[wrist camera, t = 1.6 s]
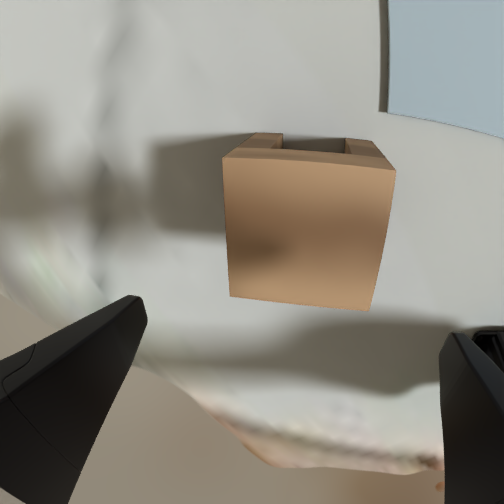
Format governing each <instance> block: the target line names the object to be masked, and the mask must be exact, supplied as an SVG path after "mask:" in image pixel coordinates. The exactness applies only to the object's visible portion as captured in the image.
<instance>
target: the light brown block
mask: <svg viewBox="0 0 504 504" xmlns="http://www.w3.org/2000/svg"><path fill="white" fill-rule="evenodd" d="M222 166H223V187H224V207H225V226H226V243H227V260H228V276H229V291H230V296H231V297H239V298H247V299H255V300H263V301H272V302H280V303H289V304H298V305H308V306H318V307H328V308H338V309H349V310H361V311H369V308H370V305H371V301H372V297H373V293H374V289H375V285H376V280H377V276H378V272H379V267H380V263H381V258H382V253H383V248H384V243H385V238H386V233H387V227H388V222H389V216H390V210H391V204H392V198H393V191H394V184H395V177H396V170H395V168H394V167H393V166H392V165H391V163H390V162H389V161H388V160H387V159H386V157H385V156H384V155H383V154H382V153H381V151H380V150H379V149H378V148H377V147H376V145H375V144H374V143H373V142H372V141H368V140H359V139H350V138H345V153H344V154H342V153H331V152H319V151H305V150H289V149H283V134H281V133H255V134H254V135H253V136H251V137H250V138H248V139H247V140H246V141H244V142H243V143H241V144H240V145H239V146H237V147H236V148H235V149H233V150H232V151H231V152H229V153H228V154H226V155H225V156H224V157H222Z"/></svg>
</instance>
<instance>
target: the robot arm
mask: <svg viewBox="0 0 504 504" xmlns="http://www.w3.org/2000/svg"><path fill="white" fill-rule="evenodd" d="M146 326H147V314H146V310H145V307H144V303H143V300H142V298H141V297H139V296H134V295H127V296H125V297H123V298H121V299H119V300H117V301H115V302H114V303H112V304H110V305H108V306H106V307H104V308H102V309H100V310H98V311H96V312H94V313H92V314H90V315H88V316H86V317H84V318H82V319H80V320H79V321H77V322H75V323H73V324H71V325H69V326H67V327H65V328H63V329H61V330H59V331H57V332H56V333H54V334H52V335H50V336H48V337H46V338H44V339H43V340H40V341H38V342H37V343H36V344H33V345H31V346H29V347H27V348H25V349H23V350H21V351H19V352H17V353H15V354H13V355H11V356H9V357H7V358H4V359H3V360H0V504H68V502H69V500H70V497H71V495H72V492H73V490H74V488H75V485H76V483H77V481H78V478H79V476H80V474H81V471H82V469H83V466H84V464H85V462H86V460H87V457H88V455H89V453H90V451H91V448H92V446H93V444H94V442H95V439H96V437H97V435H98V433H99V431H100V428H101V427H102V424H103V422H104V420H105V418H106V416H107V414H108V412H109V409H110V408H111V405H112V403H113V401H114V399H115V397H116V395H117V393H118V391H119V389H120V387H121V385H122V383H123V381H124V379H125V376H126V375H127V373H128V371H129V368H130V367H131V364H132V362H133V360H134V357H135V354H136V352H137V349H138V346H139V344H140V341H141V338H142V336H143V333H144V331H145V328H146ZM439 371H440V406H441V417H442V429H443V443H444V466H445V502H444V503H445V504H504V331H479V332H477V333H476V334H475V335H474V336H473V338H472V340H471V339H470V338H469V337H468V336H467V335H466V334H465V333H463V332H451V333H450V334H449V335H448V337H447V339H446V341H445V343H444V345H443V347H442V349H441V351H440V355H439Z"/></svg>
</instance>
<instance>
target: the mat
mask: <svg viewBox="0 0 504 504" xmlns="http://www.w3.org/2000/svg"><path fill="white" fill-rule="evenodd" d="M387 5H388V31H389V73H388V100H387V113H392V114H398V115H404V116H410V117H416V118H421V119H427V120H432V121H437V122H441V123H446V124H450V125H455V126H459V127H463V128H467V129H471V130H475V131H479V132H483V133H486V134H490V135H493V136H497V137H500V138H504V0H387Z"/></svg>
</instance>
